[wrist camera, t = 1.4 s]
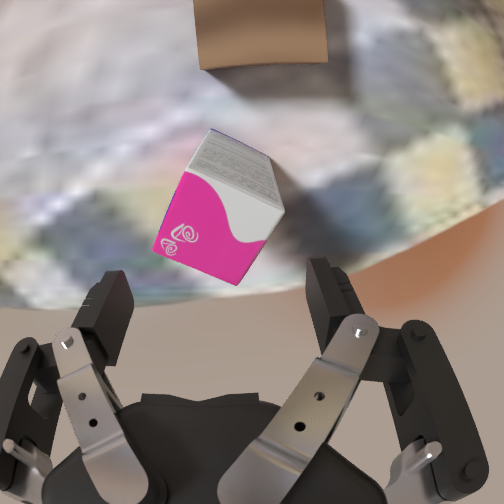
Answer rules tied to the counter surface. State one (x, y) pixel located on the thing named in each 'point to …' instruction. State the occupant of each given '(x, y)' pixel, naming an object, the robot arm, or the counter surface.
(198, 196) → the supplement box
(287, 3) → the brown cardboard box
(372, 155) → the counter surface
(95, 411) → the robot arm
